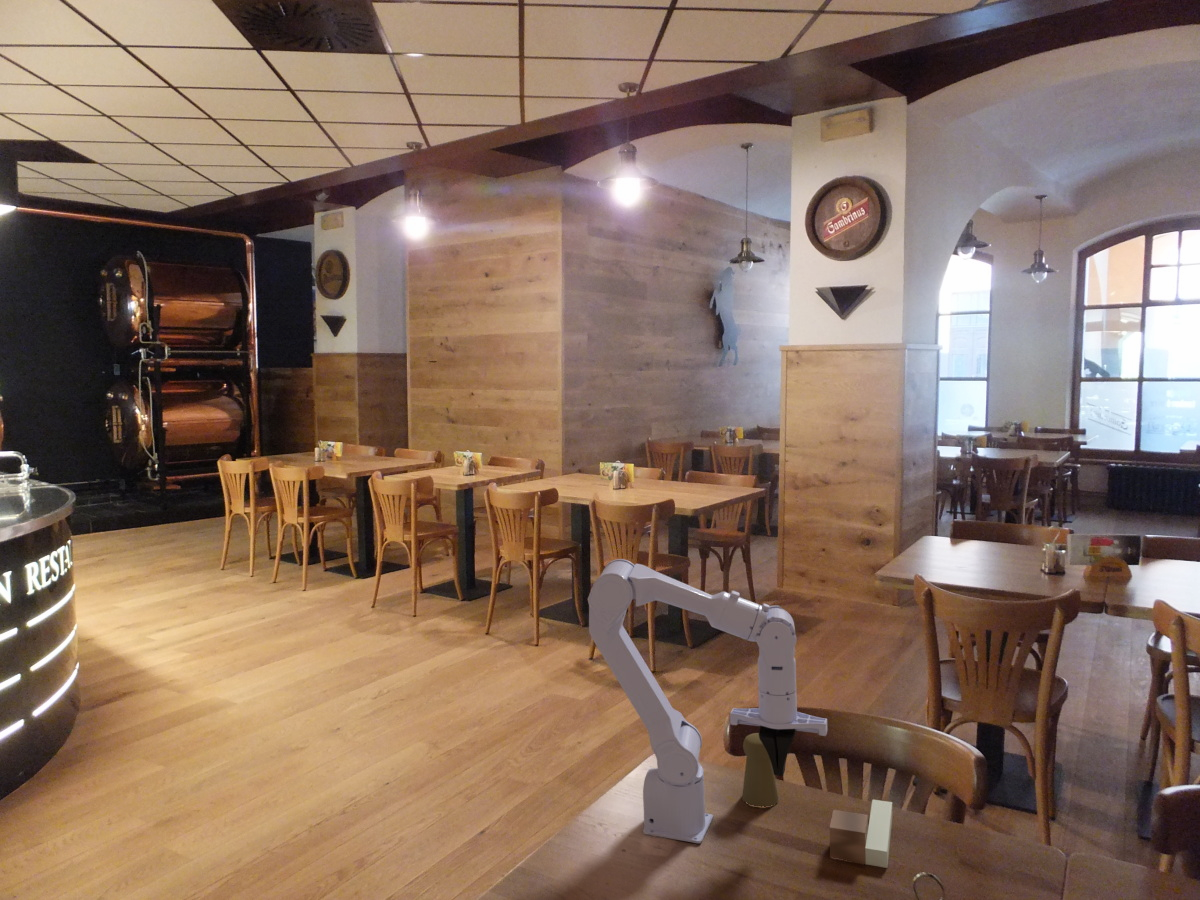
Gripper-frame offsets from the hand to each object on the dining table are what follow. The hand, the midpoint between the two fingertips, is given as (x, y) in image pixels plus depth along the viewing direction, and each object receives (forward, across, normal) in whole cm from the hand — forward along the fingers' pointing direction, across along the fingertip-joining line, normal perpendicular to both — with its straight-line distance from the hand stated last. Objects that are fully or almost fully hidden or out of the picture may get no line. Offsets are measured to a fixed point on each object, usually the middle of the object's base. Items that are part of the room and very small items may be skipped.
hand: (779, 772), depth 131 cm
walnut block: (+10, -10, +2) cm, 15 cm away
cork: (+10, +5, -9) cm, 14 cm away
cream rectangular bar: (+10, -14, -2) cm, 18 cm away
